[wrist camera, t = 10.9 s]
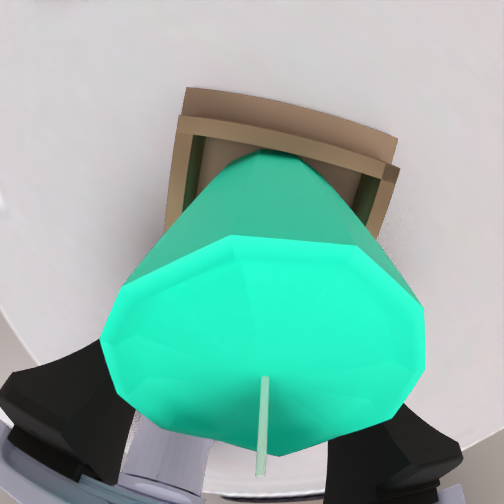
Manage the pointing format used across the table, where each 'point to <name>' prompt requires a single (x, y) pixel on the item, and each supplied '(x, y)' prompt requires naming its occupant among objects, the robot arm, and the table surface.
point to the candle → (266, 316)
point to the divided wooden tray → (279, 149)
